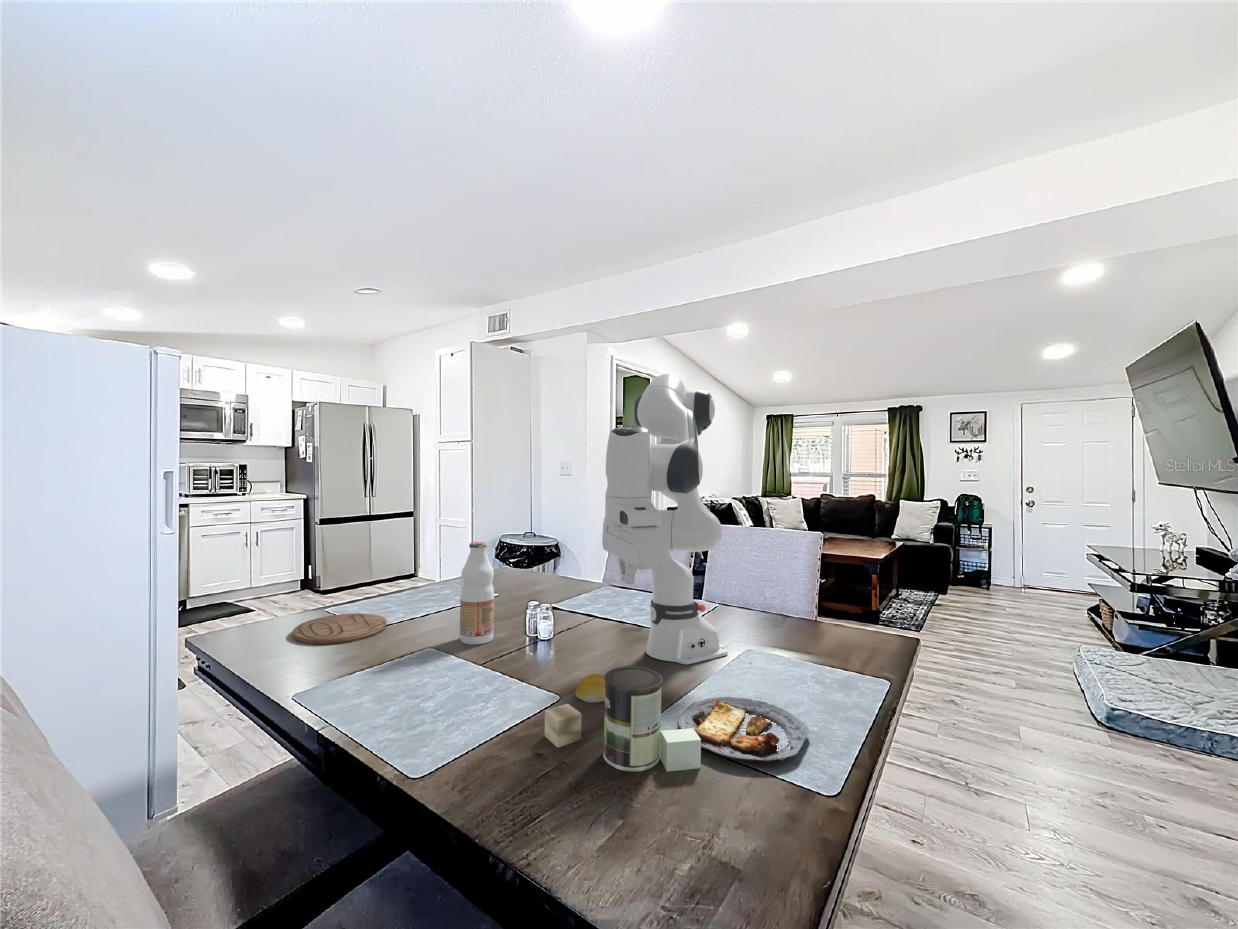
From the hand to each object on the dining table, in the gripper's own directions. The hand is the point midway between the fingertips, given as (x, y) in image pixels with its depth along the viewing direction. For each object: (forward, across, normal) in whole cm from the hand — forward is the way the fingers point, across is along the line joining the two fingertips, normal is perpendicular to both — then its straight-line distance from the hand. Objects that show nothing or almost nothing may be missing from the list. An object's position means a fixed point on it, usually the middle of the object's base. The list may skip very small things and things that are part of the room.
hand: (627, 582), depth 104 cm
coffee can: (+29, +9, -2) cm, 30 cm away
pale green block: (+29, +14, +4) cm, 32 cm away
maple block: (+29, -1, -12) cm, 31 cm away
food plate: (+30, +9, +20) cm, 37 cm away
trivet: (+31, -83, -58) cm, 106 cm away
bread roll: (+30, -17, -1) cm, 34 cm away
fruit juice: (+30, -62, -21) cm, 72 cm away
